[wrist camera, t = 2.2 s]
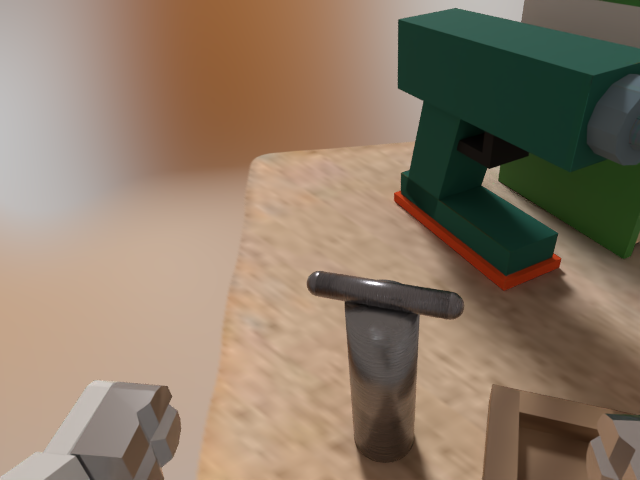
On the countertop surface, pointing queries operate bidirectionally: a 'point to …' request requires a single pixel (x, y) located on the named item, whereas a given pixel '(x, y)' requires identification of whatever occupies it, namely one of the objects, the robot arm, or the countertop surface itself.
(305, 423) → the countertop surface
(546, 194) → the hardback book
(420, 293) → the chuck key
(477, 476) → the countertop surface
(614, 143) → the power tool
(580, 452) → the brown square frame
